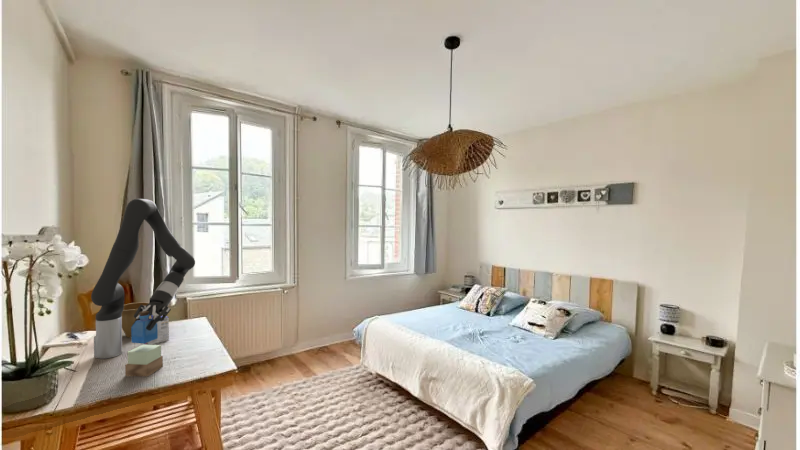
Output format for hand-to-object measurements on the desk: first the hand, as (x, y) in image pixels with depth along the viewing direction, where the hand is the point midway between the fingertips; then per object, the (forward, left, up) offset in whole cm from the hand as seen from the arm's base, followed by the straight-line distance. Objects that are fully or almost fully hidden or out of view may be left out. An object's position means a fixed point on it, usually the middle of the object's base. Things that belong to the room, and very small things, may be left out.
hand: (141, 328), depth 143 cm
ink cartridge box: (-18, +35, -19) cm, 43 cm away
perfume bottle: (0, +2, -6) cm, 6 cm away
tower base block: (0, +2, -19) cm, 19 cm away
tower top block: (0, +1, -14) cm, 14 cm away
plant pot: (-36, +44, -19) cm, 59 cm away
